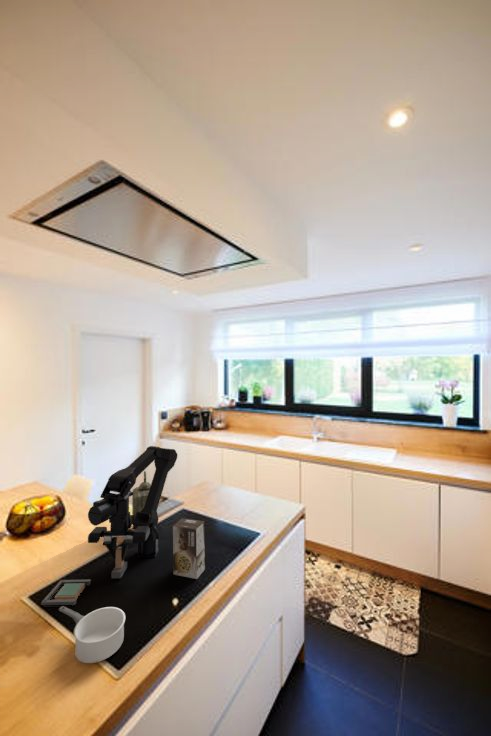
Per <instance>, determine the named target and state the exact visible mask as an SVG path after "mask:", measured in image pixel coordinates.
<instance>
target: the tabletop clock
mask: <svg viewBox="0 0 491 736" xmlns="http://www.w3.org/2000/svg"><path fill="white" fill-rule="evenodd" d="M150 486H151V483H150V482H149V481H147V471H145V470H144V471H143V482H141V483H140V484H139V486H136V487H134V488H133V489H132V492H133V493H134V494H133V495H132V496H131V497H132V503H131V504H132V509H131V510H132V511H131V513H132V514H131V515H134V519H135V515H136V513H137V512H140V511H141V510H142V509H143V508H144V505H145V502H146V499H147V496H148V493H149V490H150Z"/></svg>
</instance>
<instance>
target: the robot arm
mask: <svg viewBox="0 0 491 736" xmlns="http://www.w3.org/2000/svg"><path fill="white" fill-rule="evenodd" d="M177 459H178V452H177V451H176V450H175V449H174V448H165V447H160V446H154V445H150V446H148V447H146V449H145V451H144V452H142V454H140V455H139V456H138V457H137V458H136V459H135V460H134V461H132V462H131V463H130V464H128V466H126V467H125V468H121V469H119V470H117V471H116V472H113V473H112V474H111V475H110V476H109V477H108V479H107V482H106V485H105V487H104V488H103V490H102V492H101V494H100V498H101V499H99V500H95V501H93V503H92V506H91V507H90V508H89V509H88V512H87V518H88V521H89V523H90V524H91V525H93V526H94V528H93V529H92V531H91V532H90V533H88V535H87V543H88V544H97V543H99V541H100V540H101V538H103V541H102V546H105V547H106V548H107V550H108V551H109V553H110V555H111V556H112V558H113V560H114V561H115V559H116V549H117V547H118V544H117V543H118V541H117V540H118V538H123V541H122V542H121V546H120V547H121V558H122V561H123V560H124V561H125V558H126V555H127V552H128V548H129V545H131V544H132V543H133V542H135V543H137V546H136V547H137V552H136V553H137V558H155V557H156V556H157V553H158V552H159V549H160V546H159V539H160V537H161V536H162V533H163V528H162V527H161V526H159V525H158V523H159V515H158V514H159V513H158V508H159V504H160V501H161V497H162V494H163V491H164V487H165V485H166V480H167V477H168V474H169V472H170V471H171V470H172V469H173V468H174V466H175V465H176V462H177ZM153 462H154V463H153ZM152 463H153V464H154V467H155V471H154V474H153V477H152V480H151V483H150V484H151V486H150V490H149V493H148V496H147V499H146V502H145V505H144V508H143V509H142V510H141V511H140V512H137V513H136V515H135V519H134V515H132V514H131V512H130V497H132V495H133V494H134V493H133V491H132V488H133V487H134V485H135V484H136V483H137V478H138V477H139V476H140V475H141V474H142V473H144V471H145V470H146V469H147V468H148V467H149V466H150V465H151V464H152ZM107 521H108V522H109V523H110V528H109V529H110V530H108V527H107V526H99V525H101V524H103V523H104V522H107ZM95 526H96V527H95ZM131 528H132V529H131Z"/></svg>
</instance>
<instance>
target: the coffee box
mask: <svg viewBox="0 0 491 736" xmlns="http://www.w3.org/2000/svg"><path fill="white" fill-rule="evenodd" d="M205 537H206V535H205V520H199V519H198V520H197V519H191V518H183V517H182V518H180V520H178V521H177V522H176V523H175V524H173V526H172V555H173V556H172V559H173V560H172V565H173V566H172V569H173V570H172V572H173V573H172V574H173V575H175V576H180V577H184V578H185V577H186V578H190V579H195V580H198V579H199V578H200V577H201V575H202V573H203V572H204V571H205V570H206V563H205V562H206V559H205V558H206V554H205V553H206V552H205V549H206V548H205V541H206V539H205Z"/></svg>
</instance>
